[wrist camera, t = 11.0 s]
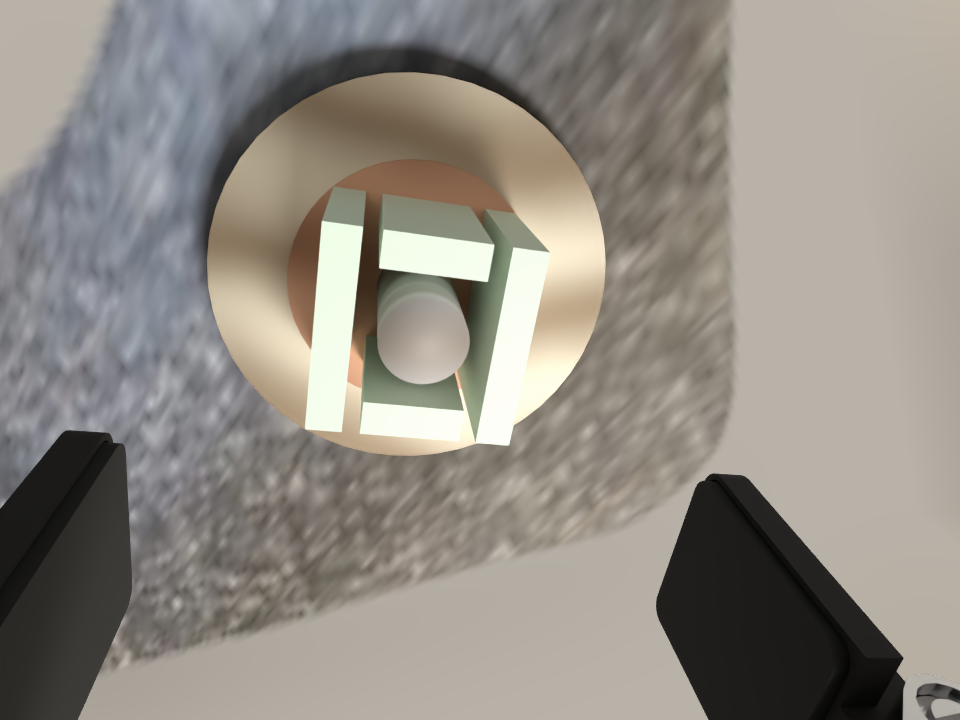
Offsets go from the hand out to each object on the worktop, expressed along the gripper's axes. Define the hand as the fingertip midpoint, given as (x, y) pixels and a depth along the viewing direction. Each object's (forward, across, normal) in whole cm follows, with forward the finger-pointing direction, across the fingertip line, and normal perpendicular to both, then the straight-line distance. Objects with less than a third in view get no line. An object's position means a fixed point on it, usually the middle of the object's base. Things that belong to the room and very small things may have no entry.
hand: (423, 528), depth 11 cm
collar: (+17, -1, +1) cm, 17 cm away
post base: (+19, -1, +2) cm, 19 cm away
